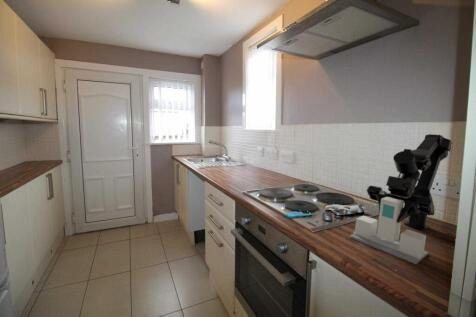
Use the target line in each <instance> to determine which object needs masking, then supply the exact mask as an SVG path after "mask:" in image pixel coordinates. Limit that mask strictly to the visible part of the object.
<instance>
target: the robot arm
mask: <svg viewBox="0 0 476 317" xmlns="http://www.w3.org/2000/svg"><path fill="white" fill-rule="evenodd" d="M451 144H452V145H453V142H452V141H451V139H449V138H446V137H444V136H443V135H441V134H432V133H431V134H425V136H424V139H423V140H422V142H420V143H419V144H418V146H417V147H416V148H415V149H413V150H412V149H411V148H410V149H409V148H404V149H403V150H402V151H398V152H397V153H395V154H394V155H393V161H394V165H395V168H396V171H397V172H398V173H399V174H398V176H393V175H389V176H388V178H387V179H386V180H387V181H386V185H385V186H387V187H388V188H387V190H388V191H389V192H387V191H385V190H383V189H382V187H381V186H377V185H369V186H368V187H367V189H366V192H367V194H368V197H369V199H370V200H372V201H376V202H377V203H378V214H379V213H380V205H381V199H382V198H385V197H390V198H395V199H399V200H403V201H404V204H403V209H402V211H401V213H400V214H399V216H398V219H397V223H399V222H401V223H402V221H404V220H405V219H407V218H408V221H406V222H404V225H405V226H408V227H410V228H411V227H412V228H414V229H417V230H420V231H424V230H427V229H429V228H430V227H431V226H430V225H427V221H428V216H429V217H430V216H434V215H435V205H434V200H433V196H432V194H431V189H432V186H433V183H434V181H435V178H436V174H437V172H438V170H439V167H440V164H441V161H443V160H445V159H446V158H447V157H448V156H449V154H448V151H449V152H450V150H451ZM451 151H452V150H451ZM420 171H421V173H420Z"/></svg>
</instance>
